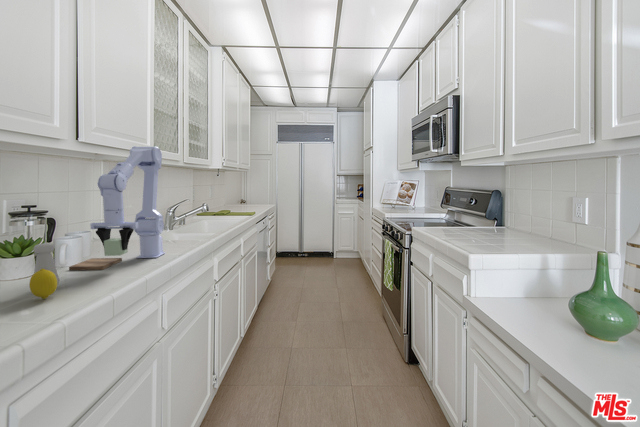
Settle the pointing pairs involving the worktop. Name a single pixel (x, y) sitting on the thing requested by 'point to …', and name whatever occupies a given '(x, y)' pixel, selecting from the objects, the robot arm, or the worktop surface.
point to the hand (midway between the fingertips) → (116, 249)
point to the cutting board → (95, 264)
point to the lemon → (43, 283)
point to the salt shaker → (45, 258)
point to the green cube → (113, 247)
